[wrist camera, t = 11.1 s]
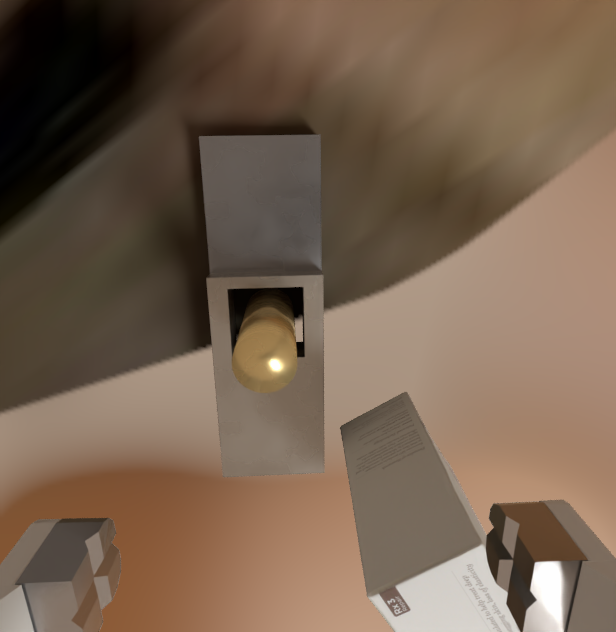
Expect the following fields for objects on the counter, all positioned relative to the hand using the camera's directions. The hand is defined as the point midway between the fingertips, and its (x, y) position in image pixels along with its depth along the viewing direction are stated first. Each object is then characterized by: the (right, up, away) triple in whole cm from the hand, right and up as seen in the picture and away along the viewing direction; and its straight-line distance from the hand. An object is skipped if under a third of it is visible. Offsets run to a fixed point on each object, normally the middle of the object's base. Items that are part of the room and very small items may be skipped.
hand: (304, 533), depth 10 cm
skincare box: (+7, -5, +24) cm, 26 cm away
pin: (-2, +5, +21) cm, 21 cm away
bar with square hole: (-3, +5, +21) cm, 21 cm away
